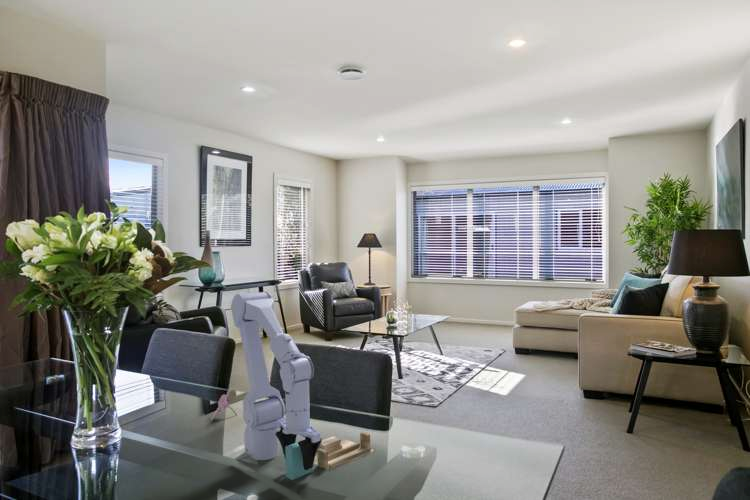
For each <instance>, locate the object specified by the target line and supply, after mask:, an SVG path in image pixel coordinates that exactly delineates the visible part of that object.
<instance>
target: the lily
mask: <svg viewBox="0 0 750 500" xmlns="http://www.w3.org/2000/svg"><path fill="white" fill-rule="evenodd" d="M232 387H233V386H231V387H230V389H228V391H227V393H226V394H222V395H221V397H220V398H219V400H218V401H217V404H218V405H217V406H218V407H217V408H216V410H215V412H214V413H213V415H212V417H211V419H210V422H212V421H213V419H214V418H215V415H216V414H217V413H218V412H220V411H223V410H225V409H228V408H229V409H230V410H231V411H232V412H233V413H234V415H235V416H238V415H237V413H236V412H235V410H234V409H233V408H232V407H231V406H230V401H229V394H230V392H231V391H232V389H233V388H232Z"/></svg>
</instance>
